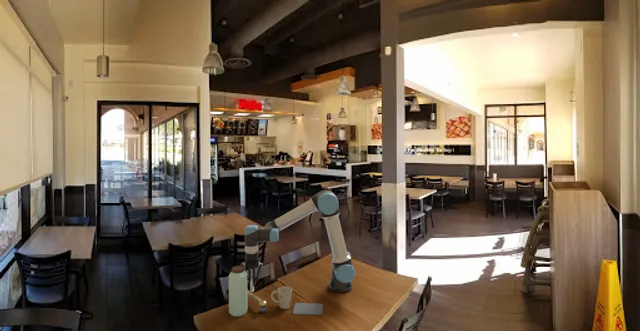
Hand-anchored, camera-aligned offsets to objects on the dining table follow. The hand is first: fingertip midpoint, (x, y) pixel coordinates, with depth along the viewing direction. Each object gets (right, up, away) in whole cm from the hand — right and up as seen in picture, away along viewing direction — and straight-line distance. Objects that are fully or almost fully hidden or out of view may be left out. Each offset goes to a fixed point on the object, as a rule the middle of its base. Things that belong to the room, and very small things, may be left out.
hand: (252, 291), depth 204 cm
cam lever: (+2, -2, -6) cm, 7 cm away
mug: (+18, -6, -8) cm, 20 cm away
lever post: (+9, -6, -14) cm, 18 cm away
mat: (+33, -6, -11) cm, 36 cm away
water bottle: (-4, -6, -16) cm, 18 cm away
